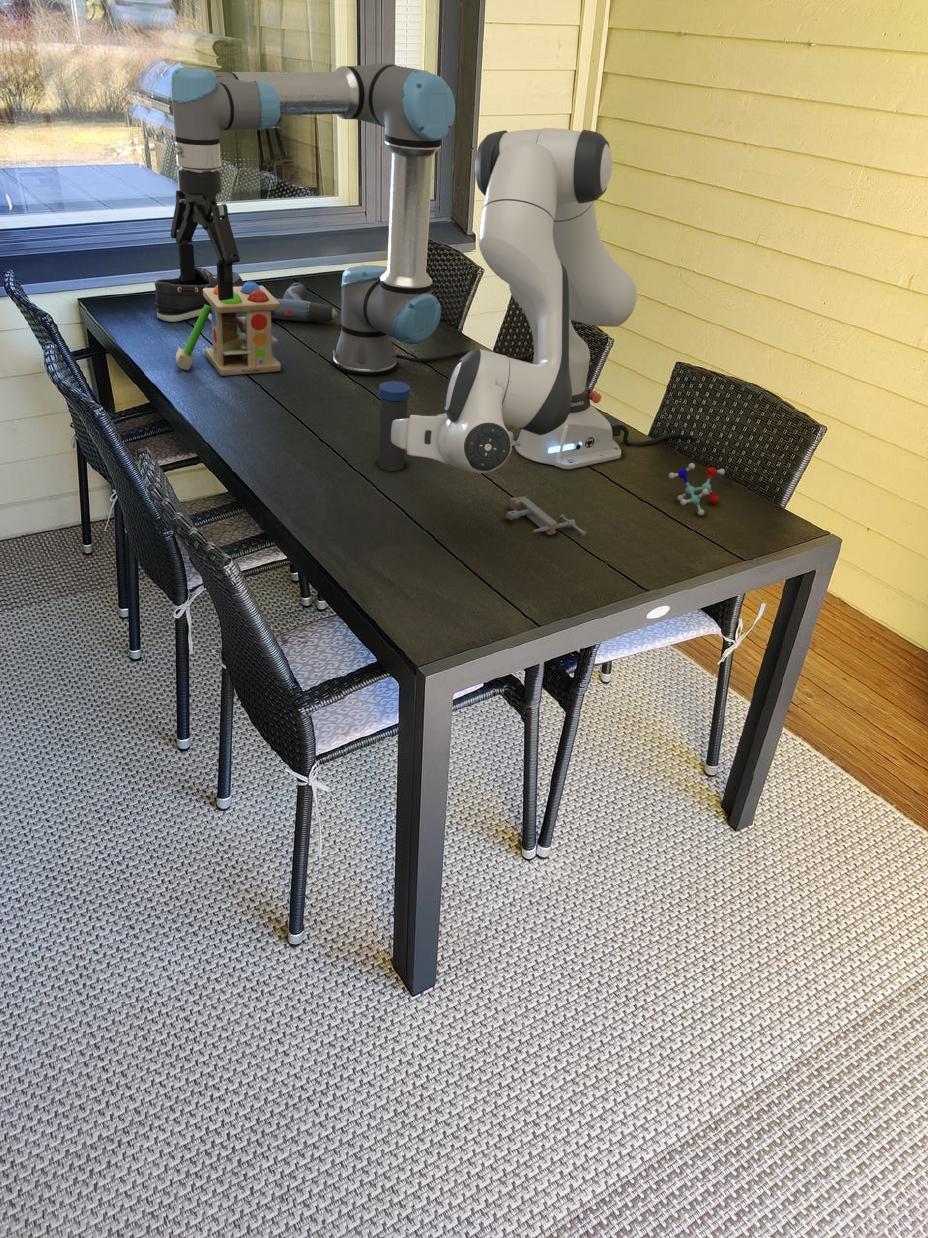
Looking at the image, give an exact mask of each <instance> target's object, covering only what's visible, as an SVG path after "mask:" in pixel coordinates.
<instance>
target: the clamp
mask: <svg viewBox="0 0 928 1238" xmlns="http://www.w3.org/2000/svg"><path fill="white" fill-rule="evenodd" d="M509 509H510V511H507V512H506V518H507V519H508V520H510V521H513V520H517V519H519V518H521V517H524V516H525V517H527V518H528V519H529V520H530V521H531V522H532V523H534V524H535V525H536V526H537V527H539V528H536V529H533V530H532V533H533V534H536V533H542V532H545V533H546V534H547V535H548V536H549V535H550V536H551V535H556V533H557V529H562V528H565V527H566V528H573V529H575V530H576V531H577V532H579V533H580V534H581V536H582V537H586V535H587V531H586V530H583V529H581V528H580V527H579V526H577V524H576V520H575V519H573V518H572V519H569V518H567V517H566V516H565V514H563V513H562V514H561V515H560V516H559V519H560V520H563V521H564V522H560V523H558V522H557V521H556V520H555V519H553V518H552V517H551V516H550V515H549V514H548V513H546V512H545V511H543V509H541V508H540V507H538V506H537V505H536V504H535V503H534V502H532V501H531V500H530V499H529V498H527V496H520V497H519V496H518V497H517V496H516V497H515V496H514V497H511V498H510V503H509Z"/></svg>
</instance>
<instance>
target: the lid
mask: <svg viewBox="0 0 928 1238" xmlns="http://www.w3.org/2000/svg"><path fill="white" fill-rule="evenodd" d="M378 392H379V393H378V395H379V397H380V399H381V398H383V399H385V400H389V401H404V400H407V399H408V400H409V398H410V397H411V386H410V385H409V384H407V383H405V382H402V381H397V380H389V381H384V382H382V383H380V384H379V390H378Z"/></svg>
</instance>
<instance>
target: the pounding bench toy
mask: <svg viewBox="0 0 928 1238" xmlns="http://www.w3.org/2000/svg"><path fill="white" fill-rule="evenodd" d="M203 296H204V297H205V299H206V300H207V301H208V302H209V304H210V305H211V307H210V306H208V305H204V307H203V309H202V311H201V314H200V316H198V318H197V320H196V322H195V324H194V327H193V329H192V331H191V332H190V333H191V334H190V336H189V338H188V340H187V343H186V344H185V347H184V348H182V347H180V346H179V347H178V349H177V351H176V354H175V357H174V358H175V362H176V365H177V366H178V368H179V369H182V370H185V371H189V370H190V369H191V367H192V365H193V363H194V356H193V351H194V348H195V347H196V345H197V342H198V340H199V337H200V336H201V333H202V332H203V329H204V326H205V325H206V322H207V320H209V321H210V322H211V336H212V337H211V338H212V339H211V340H212V348H205V349H204V352H205V353H204V355H205V357H206V359H208V361H209V363H210V364H211V365H212V366H213V367H214V369H215V370H216V371H217V372H218V374H219V375H220V376H222V377H223V376H234V375H235V376H236V375H246V374H247V375H250V374H262V373H275V372H281V370H282V364H281V363H280V362H279V360H278V359H277V358H276V357H275V356H274V355H273V348H272V347H273V345H272V344H276V343H278V342H279V341H278V339H277V338H276V337H275V336H274V334H272V318H271V310H280V303H279V302H278V301H277V300H276V299H277V298H276V297H274V296H273V295H272V294H271V293H270V292H269V290H268V289H267V288H266V287H264V285H259V284H257V283H256V282H255V281H247V282H245V283H243V286H242V287H233V298H234V299H228V300H222V301H220V300H219V297H218V285H217V286H216V287H215V288H204V289H203ZM238 313H244V314H245V315H244V316H238ZM238 329H239V331H240V333H239V334H238Z"/></svg>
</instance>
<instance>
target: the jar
mask: <svg viewBox="0 0 928 1238" xmlns="http://www.w3.org/2000/svg"><path fill="white" fill-rule="evenodd" d="M408 400H409V398H408V399H407V400H404V401H389V400H385V399H383V398H381V397H380V405H379V406H380V407H379V409H380V411H379V433H378V435H379V437H378V462H377V463H378V464H377V465H378V468H380V469H381V470H384V471H386V472H387V471H388V472H397V471H400V470H403V469H404V467H405V459H406V458H405V456H406V450H404V449H401V448H399V447H397V446H395V445H394V444H393V443H392V442H391V428H392V422H393V421H394V420H397V419H406V418H408Z"/></svg>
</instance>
